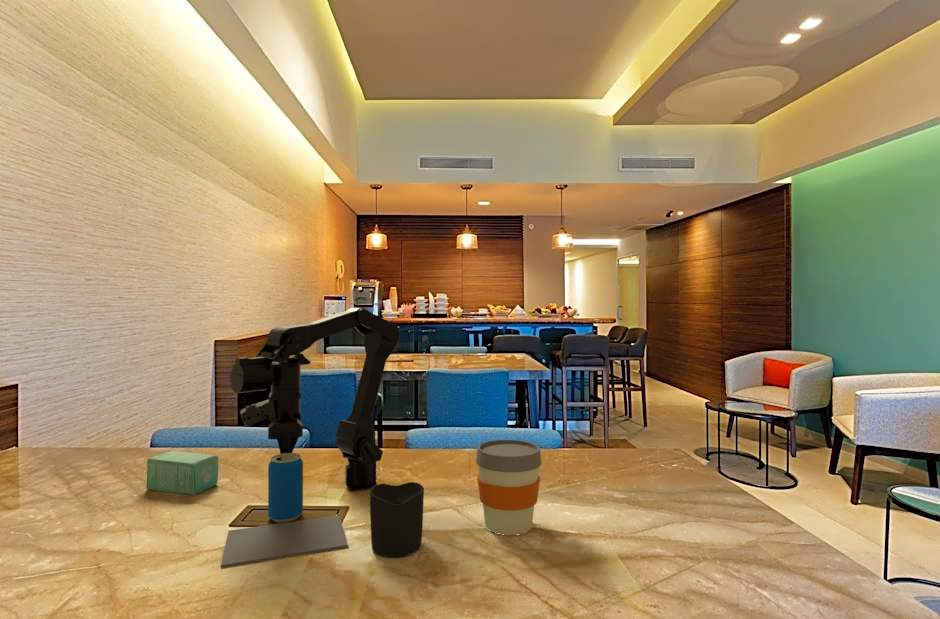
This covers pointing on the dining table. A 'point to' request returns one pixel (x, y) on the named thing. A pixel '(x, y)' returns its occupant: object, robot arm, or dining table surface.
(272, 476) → the beverage can
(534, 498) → the reusable coffee cup
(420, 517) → the pen holder
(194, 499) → the dining table surface
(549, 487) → the dining table surface
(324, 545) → the mat
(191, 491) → the box
